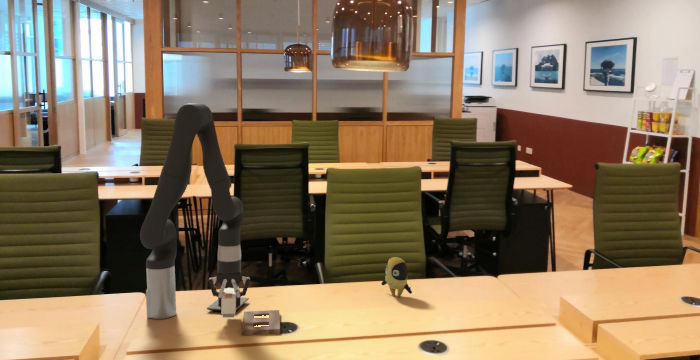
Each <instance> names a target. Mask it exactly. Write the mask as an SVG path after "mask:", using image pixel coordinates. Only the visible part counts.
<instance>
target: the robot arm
mask: <svg viewBox="0 0 700 360" xmlns="http://www.w3.org/2000/svg"><path fill="white" fill-rule="evenodd" d="M196 136H197V138H198V141H199V142H200V147H201V152H202V153H201V154H202V168H203V172H204V175H205V178H206V181H207V184H208V186H209V190H210V193H211V202H212V207H213V210H214V213H215V215H216V216H217V218H218V219H219V220H221V221H222V225H221V226H220V228H219V230H218V246H217V247H218V248H217V274H216V276H213V277H212V276H211V277H209V278H208V281H207V282H208V284H209V287H210V291H211V294H212V296H213V297H217V298H218V299H217V300H218V306H219V307H220V308H221V299H222V294H223V292H224V289H225V288H234V291H235V293H236V308H238V307H239V306H240V298H242V297H245V296H246V294H247V291H248V288H249V285H250V281H251V277H250V276H243V273H242V248H241V229H242V228H241V227H242V224H243V217H244V205H243V202H242V200H241V199H240V198H239V197H237V196H232V195H231V190H230V189H231V188H232V180H231V178H230V175H229V172H228V170H227V167H226V165H225V161H224V158H223V156H222V153H221V149H220V148H221V147H220V144H219V141H218V135H217V130H216V126H215V120H214V116H213V113H212V110H211V108H210V107H209V106H208V105H207V104H204V103H200V102H195V103H194V102H190V103H185V104H183V105H182V106H180V107H179V108H178V109H177V112H176V115H175V120H174V123H173V129H172V135H171V140H170V142H169V143H170V144H169V146H168V150H167V153H166V157H165V160H164V162H163V165H162V168H161V171H160V175H159V178H158V182H157V186H156V188H155V192H154V195H153V198H152V201H151V204H150V208H149V209H148V212H147V213H146V216H145V218H144V221H143V223H142V225H141V228H140V233H139V239H140V241H141V242H140V243H141V245H142V246H143V247H144V248H146V249H149V250H152V251H150V252H151V253H150V254H149V255H148V257H147V258H146V261H145V267H146V270H145V271H146V287H147V288H146V290H145V304H146V318H147V319H153V320H154V319H155V320H162V319H168V318H172V317H175V315H176V314H177V299H176V298H177V297H176V296H177V294H176V273H175V272H176V269H175V260H176V257H177V253H178V252H177V251H178V250H177V245H178V244H177V242H178V241H177V236H178V235H177V229H176V225H175V224H174V222H173V221H172V220H171V219H169V217H170V215H171V212H172V211H173V209H174V208H175V206H176V205H177V204H178V203H179V201H180V200H181V198H182V197H183V195H184V194H185V192H186V190H187V187H188V184H189V182H190V178H191V175H192V167H193V165H192V155H191V154H192V147H193V144H194V142H195V138H196ZM241 281H242V284H244V286H243V288H242V290H240V287H239V284H240V283H241ZM216 282H218V284H220V289H219V291H218V290H217V288H216V285H215V284H216ZM240 307H241V306H240ZM240 307H239V308H240ZM239 308H238V309H239Z"/></svg>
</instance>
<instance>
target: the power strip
mask: <svg viewBox="0 0 700 360" xmlns="http://www.w3.org/2000/svg"><path fill="white" fill-rule="evenodd" d="M236 311H237V310H236V293H235V291H234V288H225V289H224V292H223V294H222V299H221V311H220V312H221V313H220V314H221V315H222V318H235V314H236Z"/></svg>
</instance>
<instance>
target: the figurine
mask: <svg viewBox="0 0 700 360" xmlns="http://www.w3.org/2000/svg"><path fill="white" fill-rule="evenodd" d="M408 276H409V275H408V268H407V264H406V261H405V260H404V259H403V258H400V257H397V256H395V257H394V256H392V257H390V258H389V259H388V261H387V264H386V266H385V276H384V278H385V279H382V281H381V286H385V285H388V287H389V291H390V293H391V295H392V296H395V295H396V291H397V298H400V297H401V296H402V294H403V292H404V290H405V291H406V292H408V293H409V294H410V295H412V293H413V291H412V289H411V287H412V286H411V287H410V286H409V283H408Z"/></svg>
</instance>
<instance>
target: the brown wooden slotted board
mask: <svg viewBox="0 0 700 360" xmlns="http://www.w3.org/2000/svg"><path fill="white" fill-rule="evenodd" d="M262 315H264V316H266V315H269V318H254V316H262ZM280 315H281V314H280V309H275V310H274V309H273V310H272V309H271V310H269V309H268V310H253V311H252V310H251V311H243V317H242V325H241V336H257V335H258V336H260V335H279V334H281V321H280V319H281V318H280ZM256 325H257V326H258V325H269V326H261V327H254V326H256Z"/></svg>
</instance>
